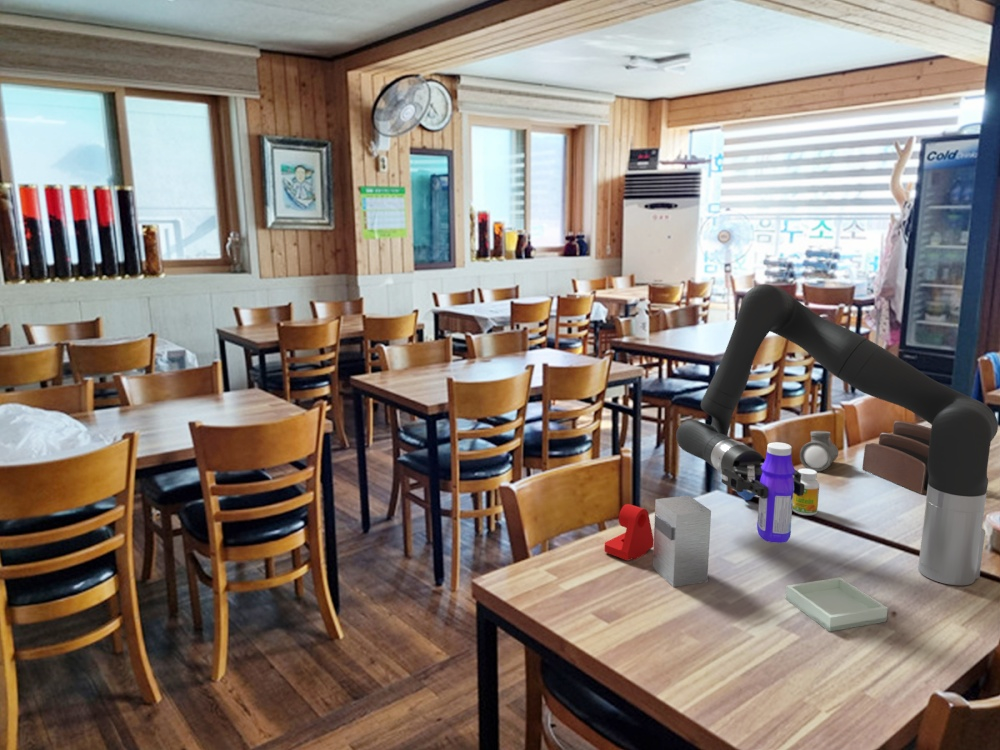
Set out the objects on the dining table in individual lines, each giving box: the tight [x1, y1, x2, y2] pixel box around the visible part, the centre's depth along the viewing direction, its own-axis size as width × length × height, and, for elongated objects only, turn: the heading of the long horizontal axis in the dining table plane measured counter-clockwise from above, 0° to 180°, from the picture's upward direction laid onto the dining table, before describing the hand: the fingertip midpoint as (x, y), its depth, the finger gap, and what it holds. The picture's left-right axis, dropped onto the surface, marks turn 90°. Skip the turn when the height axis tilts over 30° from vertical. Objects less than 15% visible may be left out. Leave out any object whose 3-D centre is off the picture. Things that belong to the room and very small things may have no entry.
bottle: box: [756, 441, 796, 544], centre depth 132 cm, size 7×6×17 cm
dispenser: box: [652, 494, 712, 588], centre depth 138 cm, size 8×8×14 cm
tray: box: [785, 577, 888, 633], centre depth 126 cm, size 11×11×2 cm
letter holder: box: [862, 420, 931, 496], centre depth 188 cm, size 10×20×14 cm, turn 16°
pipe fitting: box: [799, 430, 839, 473], centre depth 200 cm, size 12×8×10 cm
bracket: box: [603, 503, 654, 562], centre depth 148 cm, size 9×6×10 cm
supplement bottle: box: [792, 468, 820, 516], centre depth 168 cm, size 5×5×10 cm
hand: (784, 491), depth 130 cm, fingers closed on bottle, 6 cm apart
